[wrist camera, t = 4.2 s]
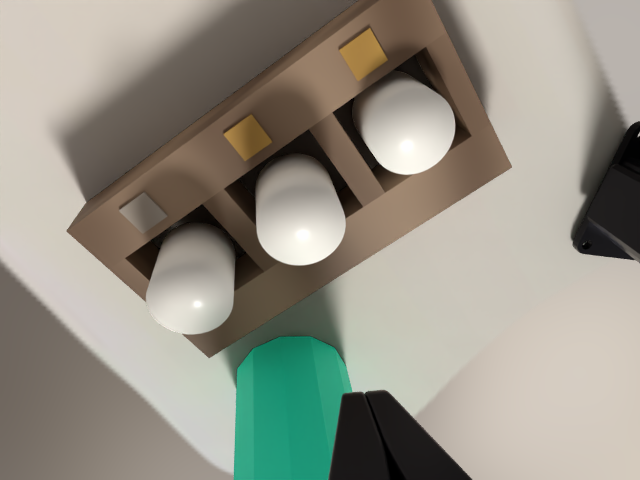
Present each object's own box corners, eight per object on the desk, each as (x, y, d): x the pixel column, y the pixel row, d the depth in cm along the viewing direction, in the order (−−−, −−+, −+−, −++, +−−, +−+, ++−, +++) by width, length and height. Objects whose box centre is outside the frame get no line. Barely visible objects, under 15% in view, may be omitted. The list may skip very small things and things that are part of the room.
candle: (253, 324, 24) (256, 592, 14) (363, 347, 26) (440, 602, 15) (222, 409, 27) (204, 690, 16) (324, 424, 28) (367, 689, 18)
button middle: (303, 137, 18) (313, 168, 15) (345, 197, 20) (361, 234, 17) (239, 182, 19) (237, 219, 16) (285, 237, 20) (290, 280, 17)
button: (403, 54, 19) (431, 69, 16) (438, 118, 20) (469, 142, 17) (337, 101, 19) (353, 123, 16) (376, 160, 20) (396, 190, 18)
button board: (396, -29, 17) (418, -28, 15) (485, 146, 21) (513, 168, 19) (86, 202, 20) (65, 232, 18) (212, 322, 24) (209, 359, 22)
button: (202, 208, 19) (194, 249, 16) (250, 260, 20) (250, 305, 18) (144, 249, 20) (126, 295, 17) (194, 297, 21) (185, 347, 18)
